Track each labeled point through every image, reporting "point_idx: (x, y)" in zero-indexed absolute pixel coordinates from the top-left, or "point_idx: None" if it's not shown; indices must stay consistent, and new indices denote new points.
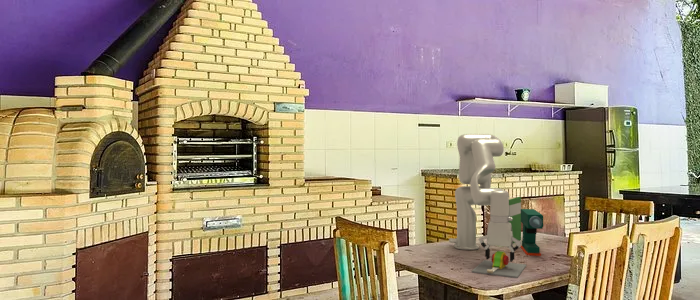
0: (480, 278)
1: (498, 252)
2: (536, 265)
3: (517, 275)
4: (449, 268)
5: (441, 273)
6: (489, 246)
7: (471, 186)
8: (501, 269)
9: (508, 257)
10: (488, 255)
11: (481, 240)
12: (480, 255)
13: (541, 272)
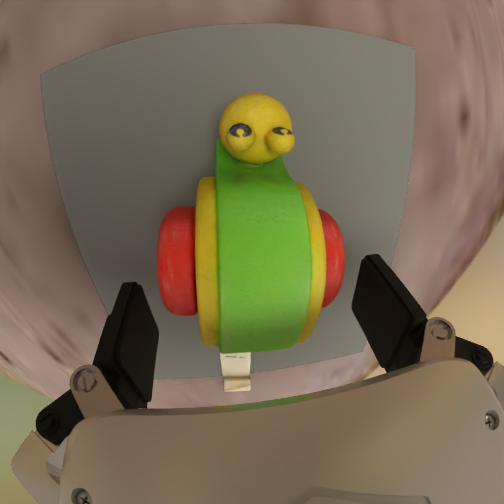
0: None
1: (249, 349)
2: (448, 22)
3: (364, 340)
4: (45, 354)
5: None
6: (122, 405)
7: None
8: None
9: (343, 249)
10: (152, 349)
11: (56, 473)
12: None
13: (471, 191)
